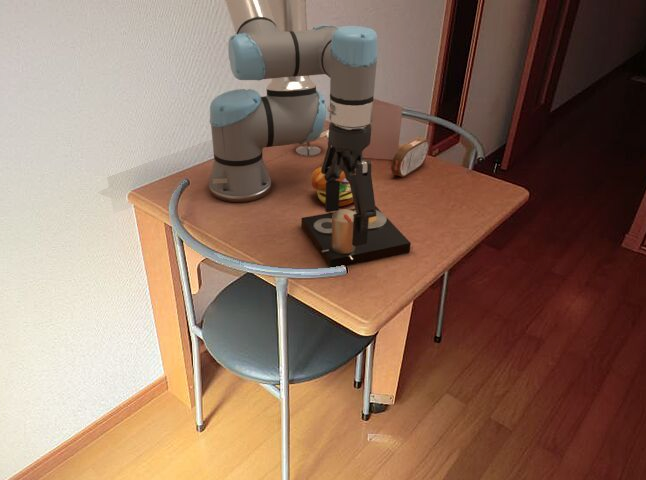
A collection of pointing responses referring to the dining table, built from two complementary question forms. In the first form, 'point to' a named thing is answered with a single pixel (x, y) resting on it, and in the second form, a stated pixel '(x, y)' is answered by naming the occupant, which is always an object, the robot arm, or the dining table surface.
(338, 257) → the stove
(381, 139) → the greeting card
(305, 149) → the wine glass
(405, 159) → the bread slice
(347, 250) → the stove knob
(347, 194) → the cheeseburger
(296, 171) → the dining table surface
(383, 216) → the burners
